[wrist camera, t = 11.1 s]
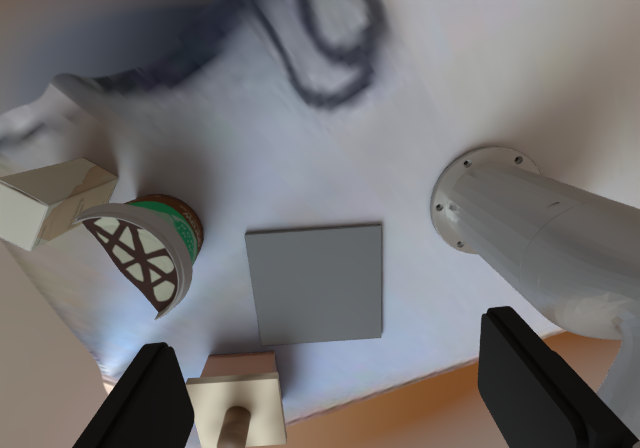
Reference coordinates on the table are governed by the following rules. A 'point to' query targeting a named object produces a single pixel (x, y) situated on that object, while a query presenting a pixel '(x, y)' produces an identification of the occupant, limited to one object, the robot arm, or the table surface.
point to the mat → (316, 284)
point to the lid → (238, 410)
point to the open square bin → (240, 364)
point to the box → (50, 200)
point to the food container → (150, 244)
